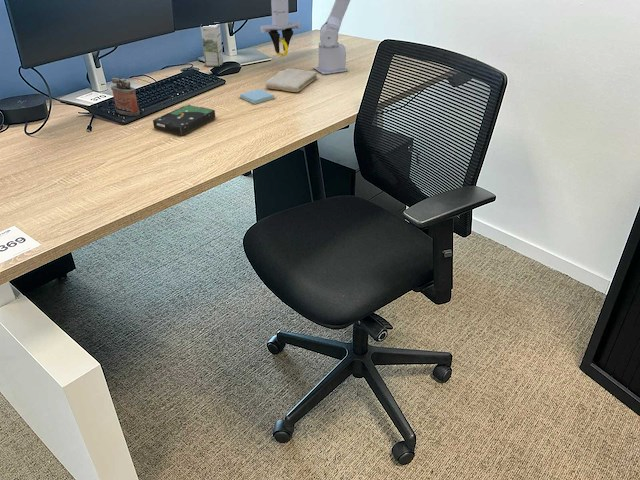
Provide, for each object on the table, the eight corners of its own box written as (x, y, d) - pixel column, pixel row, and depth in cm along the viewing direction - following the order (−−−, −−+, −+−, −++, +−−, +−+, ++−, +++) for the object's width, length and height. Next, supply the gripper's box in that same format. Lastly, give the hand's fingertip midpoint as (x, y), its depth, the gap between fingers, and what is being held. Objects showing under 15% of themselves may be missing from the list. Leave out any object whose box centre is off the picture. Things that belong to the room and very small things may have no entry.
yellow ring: (273, 54, 192) (272, 37, 188) (278, 53, 193) (278, 36, 190) (283, 58, 188) (283, 40, 185) (289, 56, 190) (289, 39, 186)
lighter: (142, 112, 158) (136, 79, 152) (134, 116, 155) (128, 82, 149) (121, 108, 160) (114, 75, 155) (113, 112, 158) (106, 78, 152)
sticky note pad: (259, 92, 173) (259, 88, 173) (274, 98, 169) (273, 94, 168) (240, 97, 169) (240, 94, 168) (254, 104, 164) (254, 100, 164)
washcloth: (318, 78, 186) (318, 69, 184) (298, 94, 172) (298, 84, 170) (287, 74, 189) (286, 65, 188) (265, 89, 175) (264, 80, 174)
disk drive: (182, 137, 144) (216, 118, 154) (181, 127, 142) (215, 109, 153) (153, 129, 148) (188, 112, 158) (151, 120, 146) (187, 102, 157)
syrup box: (223, 62, 201) (220, 22, 193) (219, 67, 196) (215, 25, 188) (209, 62, 201) (204, 21, 193) (204, 66, 196) (199, 25, 188)
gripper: (294, 6, 188) (295, 46, 195) (255, 10, 182) (258, 51, 190) (303, 10, 183) (303, 51, 190) (263, 14, 177) (265, 56, 185)
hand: (281, 51), depth 190 cm, fingers closed on yellow ring, 2 cm apart
